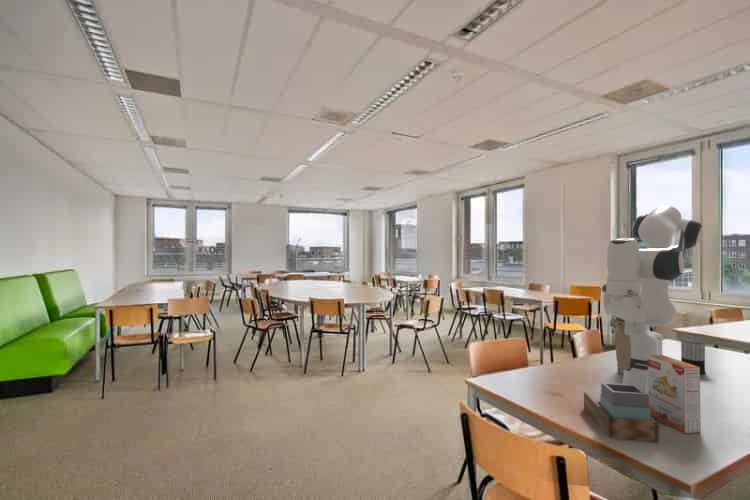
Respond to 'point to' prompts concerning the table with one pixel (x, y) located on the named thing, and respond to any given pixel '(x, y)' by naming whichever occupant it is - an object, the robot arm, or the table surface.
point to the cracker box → (674, 393)
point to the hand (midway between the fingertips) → (623, 332)
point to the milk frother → (693, 353)
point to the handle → (622, 345)
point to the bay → (621, 424)
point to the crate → (625, 401)
